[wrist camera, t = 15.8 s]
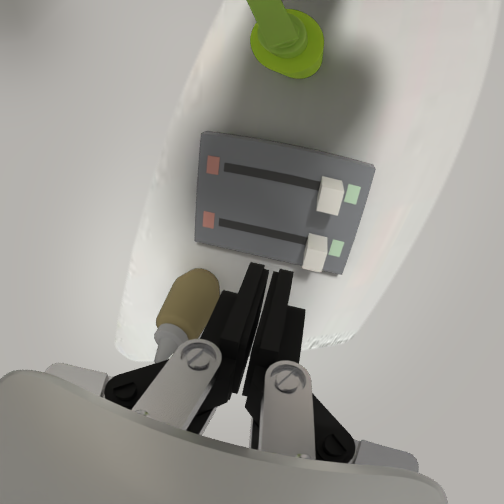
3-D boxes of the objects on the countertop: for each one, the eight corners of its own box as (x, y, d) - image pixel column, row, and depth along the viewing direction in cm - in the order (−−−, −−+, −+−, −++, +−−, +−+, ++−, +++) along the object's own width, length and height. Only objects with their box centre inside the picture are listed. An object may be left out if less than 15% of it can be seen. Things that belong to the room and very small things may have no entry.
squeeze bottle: (172, 276, 52) (121, 350, 37) (201, 253, 48) (150, 333, 33) (204, 306, 54) (165, 385, 39) (235, 288, 50) (199, 374, 35)
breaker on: (322, 175, 35) (322, 186, 32) (342, 180, 35) (344, 191, 32) (316, 198, 37) (316, 210, 33) (336, 202, 37) (337, 215, 33)
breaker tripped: (309, 233, 39) (307, 248, 36) (327, 237, 39) (327, 252, 36) (304, 252, 41) (301, 268, 38) (321, 256, 41) (321, 272, 37)
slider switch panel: (206, 131, 38) (200, 133, 36) (372, 164, 35) (375, 168, 33) (199, 234, 46) (194, 241, 44) (341, 267, 44) (341, 275, 42)
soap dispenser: (308, 22, 27) (295, -41, 11) (329, 71, 30) (340, 52, 14) (263, 36, 30) (205, -9, 13) (283, 84, 32) (245, 81, 16)
